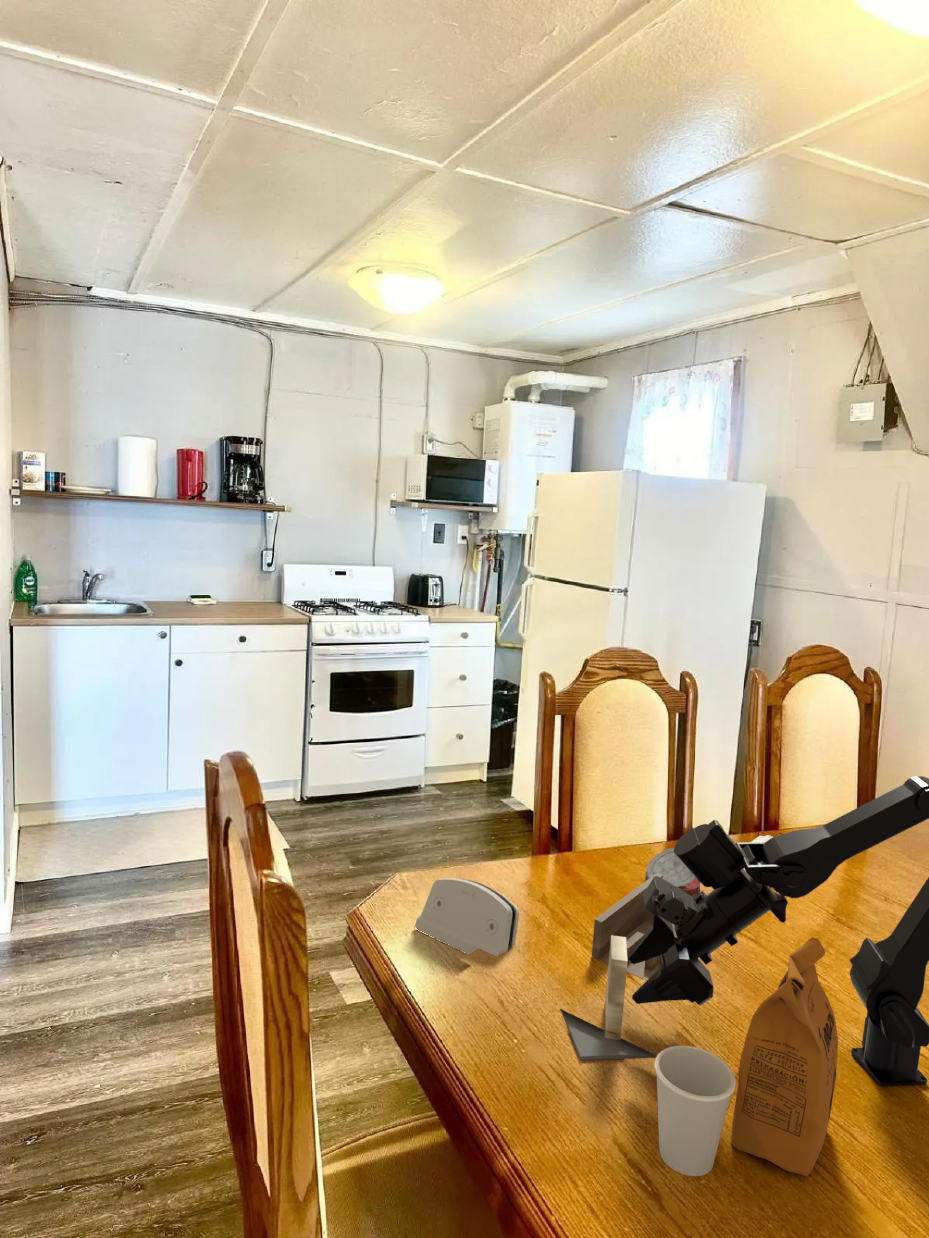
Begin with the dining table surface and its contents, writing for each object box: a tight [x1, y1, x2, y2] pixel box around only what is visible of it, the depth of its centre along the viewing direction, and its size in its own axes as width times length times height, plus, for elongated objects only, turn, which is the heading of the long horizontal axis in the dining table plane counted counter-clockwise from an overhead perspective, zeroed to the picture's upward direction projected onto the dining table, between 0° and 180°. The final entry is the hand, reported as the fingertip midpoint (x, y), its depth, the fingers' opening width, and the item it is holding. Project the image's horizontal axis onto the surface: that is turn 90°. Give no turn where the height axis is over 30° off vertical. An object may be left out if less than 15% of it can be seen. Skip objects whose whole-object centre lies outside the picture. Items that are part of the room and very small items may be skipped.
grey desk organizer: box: [591, 873, 666, 981], centre depth 128 cm, size 12×22×8 cm, turn 142°
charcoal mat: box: [560, 1008, 658, 1061], centre depth 108 cm, size 12×12×1 cm
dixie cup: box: [654, 1045, 737, 1177], centre depth 87 cm, size 8×8×10 cm
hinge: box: [414, 877, 520, 958], centre depth 128 cm, size 17×5×10 cm, turn 53°
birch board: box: [604, 935, 628, 1040], centre depth 107 cm, size 2×6×11 cm, turn 171°
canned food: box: [644, 846, 702, 896], centre depth 149 cm, size 11×10×10 cm
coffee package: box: [731, 937, 839, 1177], centre depth 89 cm, size 10×12×22 cm
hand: (632, 979), depth 107 cm, fingers open, 9 cm apart
